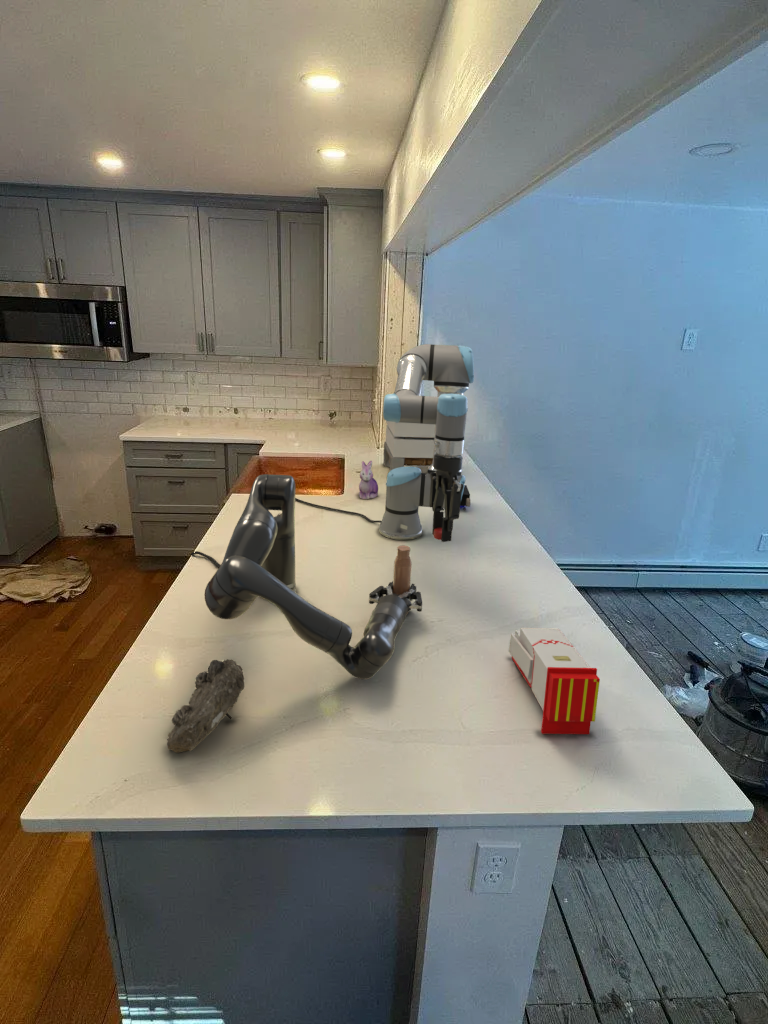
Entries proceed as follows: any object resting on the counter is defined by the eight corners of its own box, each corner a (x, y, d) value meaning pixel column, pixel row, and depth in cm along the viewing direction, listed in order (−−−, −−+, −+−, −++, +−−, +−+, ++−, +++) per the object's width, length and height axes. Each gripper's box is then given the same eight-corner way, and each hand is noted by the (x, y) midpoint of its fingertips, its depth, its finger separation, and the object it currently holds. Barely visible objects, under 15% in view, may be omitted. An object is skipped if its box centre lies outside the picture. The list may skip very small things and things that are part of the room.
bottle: (409, 608, 151) (413, 545, 144) (407, 616, 146) (411, 552, 140) (392, 606, 151) (396, 543, 145) (390, 614, 147) (393, 550, 141)
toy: (555, 612, 132) (609, 675, 103) (550, 665, 135) (600, 741, 106) (504, 611, 132) (543, 673, 102) (499, 664, 134) (536, 740, 105)
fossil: (192, 660, 117) (244, 628, 112) (224, 691, 120) (276, 661, 115) (142, 746, 98) (202, 712, 93) (182, 779, 101) (242, 748, 96)
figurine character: (470, 515, 225) (465, 499, 238) (472, 498, 221) (467, 483, 235) (453, 515, 224) (449, 499, 238) (455, 497, 221) (451, 482, 234)
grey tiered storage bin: (382, 463, 289) (386, 382, 275) (445, 464, 293) (451, 384, 279) (390, 482, 257) (394, 392, 243) (460, 483, 261) (468, 394, 247)
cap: (430, 537, 155) (431, 531, 154) (437, 533, 159) (438, 526, 158) (445, 541, 153) (445, 534, 152) (452, 536, 156) (453, 530, 156)
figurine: (363, 500, 232) (364, 465, 227) (352, 493, 240) (353, 459, 235) (383, 498, 236) (385, 463, 231) (372, 491, 244) (373, 457, 239)
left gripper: (358, 625, 136) (376, 593, 152) (416, 635, 133) (429, 602, 149) (359, 598, 134) (378, 568, 149) (418, 607, 131) (431, 576, 146)
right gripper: (420, 448, 154) (414, 528, 162) (453, 463, 139) (445, 551, 147) (443, 446, 157) (437, 525, 165) (479, 461, 142) (470, 547, 150)
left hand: (403, 585), depth 149 cm, fingers closed on bottle, 4 cm apart
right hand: (441, 537), depth 156 cm, fingers closed on cap, 4 cm apart
